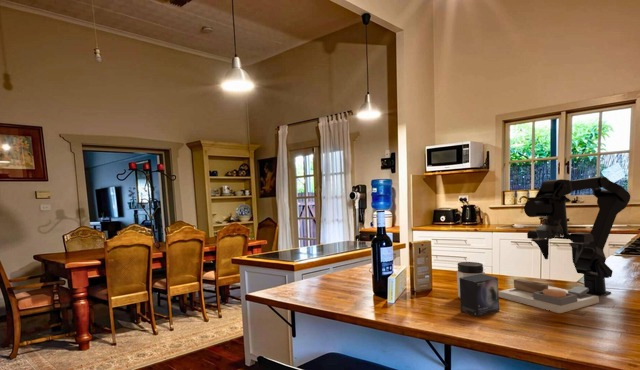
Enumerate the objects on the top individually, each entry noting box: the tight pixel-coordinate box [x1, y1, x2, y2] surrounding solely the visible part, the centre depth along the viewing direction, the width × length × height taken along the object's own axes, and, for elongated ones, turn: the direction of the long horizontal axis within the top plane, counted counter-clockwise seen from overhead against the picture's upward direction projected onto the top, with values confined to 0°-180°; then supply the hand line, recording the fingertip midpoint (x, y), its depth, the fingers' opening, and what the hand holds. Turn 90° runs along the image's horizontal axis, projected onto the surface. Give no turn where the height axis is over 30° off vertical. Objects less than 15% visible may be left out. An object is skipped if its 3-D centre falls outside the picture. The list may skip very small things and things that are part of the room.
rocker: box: [567, 285, 589, 296], centre depth 108 cm, size 5×4×1 cm
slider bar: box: [513, 278, 549, 293], centre depth 114 cm, size 3×10×3 cm, turn 24°
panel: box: [498, 285, 600, 314], centre depth 111 cm, size 20×20×4 cm
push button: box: [543, 289, 566, 298], centre depth 104 cm, size 6×6×2 cm
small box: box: [459, 273, 501, 318], centre depth 103 cm, size 11×6×10 cm, turn 117°
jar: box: [456, 261, 486, 299], centre depth 116 cm, size 9×8×12 cm
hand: (560, 261), depth 114 cm, fingers open, 9 cm apart
